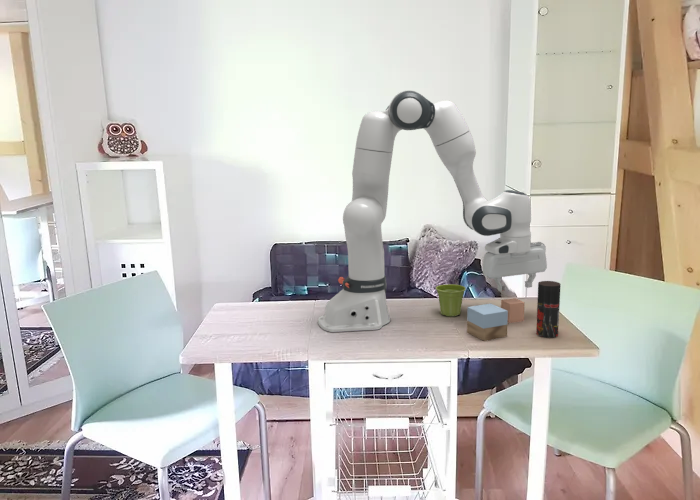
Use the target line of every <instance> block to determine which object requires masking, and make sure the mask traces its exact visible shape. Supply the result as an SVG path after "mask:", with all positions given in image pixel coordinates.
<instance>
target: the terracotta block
mask: <svg viewBox="0 0 700 500" xmlns="http://www.w3.org/2000/svg"><path fill="white" fill-rule="evenodd" d="M500 308H502V309H505V310H507V311H508V321H507V324H508V323H509V324H513V323H521V322H524V321H525V301H522V300H520V299H518V298H515V297H512V298H507V299H501V301H500Z"/></svg>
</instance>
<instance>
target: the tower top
mask: <svg viewBox="0 0 700 500" xmlns="http://www.w3.org/2000/svg"><path fill="white" fill-rule="evenodd" d="M466 311H467V312H466V313H467V314H466V315H467V317H466V318H467V319H466V321H467V320H468V321H470V322H472V323H473V324H475V325H477V326H479V327H481V328H483V329H484V328H490V327H496V326H502V325H507V326H508V322H507V321H508V311H507V310H505V309H502V308H501V306H497V305H495V304H492V303H484V304H479V305H472V306H467V310H466Z"/></svg>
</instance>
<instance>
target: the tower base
mask: <svg viewBox="0 0 700 500" xmlns="http://www.w3.org/2000/svg"><path fill="white" fill-rule="evenodd" d="M466 333H467V334H468V335H471V336H473V337H475V338H477V339H480V340H481V341H483V342H488V341H491V339H493V340H496V339H501V338H505V337H508V324H507V325H502V326H496V327H490V328H484V329H483V328H481V327H479V326H477V325H475V324H473V323H472V322H470V321H468V320H467V319H466ZM487 340H488V341H487Z"/></svg>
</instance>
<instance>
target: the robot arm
mask: <svg viewBox="0 0 700 500" xmlns="http://www.w3.org/2000/svg"><path fill="white" fill-rule="evenodd" d="M421 129H423V130H425V131H426V133H427V134H428V135H429V137H430V140H431V142H432V145H433V147H434V149H435V151H436V154H437V155H438V157H439V159H440V161H441V162H442V165H444V166H445V168H446V169H447V171H448V172H449V174H450V175H451V176H452V177H451V178H452V179H453V181H454V183H455V186H456V188H457V190H458V193H459V196H460V198H461V201H462V217H463V222H464V223H465V226H467V228H469V229H470V230H473V231H474V232H476V233H477V234H479V235H481V236H484V237H489V236H494V235H498V234H500V237H499V238H496V239H495V240H492V241H491V242H487V243H486V244H485V245H484V250H485V251H486V252H485V254H484V256H483V260H482V274H483V275H484V277H486V278H488V279H493V281H494V282H495V284H496V285H497V291H498V292H505V289H506V285H505V284H503V283H502V282H501V281H502V280H503V279H502V278H505V277H512V276H513V277H514V276H522V275H528V277H527V280H525V281H524V287H525V288H528V289H529V288H532V287H533V282H534V280H535V279H536V277H537V275H536V274H537V273H543V272H546V270H547V268H548V262H547V256H546V255H547V254H546V252H547V250H546V249H547V248H546V245H545V243H543V242H542V241H537V242H532V237H531V236H532V232H531V228H530V226H531V222H532V207H531V206H532V205H531V200H530V197H529V195H528V194H527V193H525V192H522V191H519V190H511V189H505V190H503V191H502V193H500V194H499V195H497V196H496V197H494V198H491V199H489V200H488V199H487V198H486V197H485V196H484V195H483V193H482V190H481V188H480V185H479V182H478V180H477V178H476V175H475V172H474V167H473V166H474V162H475V157H476V154H477V151H476V145H475V142H474V138H473V135H472V133H471V130H470V128H469V126H468V123H467V121H466V119H465V118H464V116H463V113H462V112H461V111H460V110H459V108H458V107H457V105H456V104H455V102H453V101H451V100H446V99H445V100H438V101H437V102H434V103H433V102H431V101H430V100H429V99H427V97H425V96H423V95H422V94H421V93H419V92H417V91H415V90H403V91H400V92H398V93H397V94H396V95H395V96H394V97H393V98H392V100H391V101H390V103H389V105H388V106H387V108H386V109H385V110H371V111H368V112H367V113H365V114H364V116H363V117H362V119H361V122H360V124H359V128H358V132H357V136H356V143H355V150H354V156H353V165H352V172H351V174H352V197H351V201H350V202H349V203H347V205H346V207H345V208H344V210H343V214H342V223H343V226H344V227H343V228H344V236H345V237H344V238H345V241H346V249H347V259H348V260H347V261H348V265H347V266H348V276H347V277H346V278H345V277H343V276H339V278H338V279H337V281H338V283H339V284H340V285H342V289H341V290H340V291H339V292H338V293H336V294H335V295H334V296H333V297H331V298H330V299H329V300H328V301H327V302H326V304H325V310H324V315H321V316H319V317H318V318H317V319H318V320H317V324H318V326H319V327H320V328H321V329H322V330H323V331H327V332H330V333H338V332H339V333H341V332H342V333H343V332H356V331H372V330H373V331H375V330H380V329H382V327H383V326H386V325H387V324H389V323H390V322H391V318H390V314H389V310H388V303H387V297H386V294H387V277H386V275H385V250H384V244H383V236H382V235H383V233H382V224H383V223H384V221H385V219H386V217H387V209H388V199H389V196H388V195H389V183H390V175H391V167H392V159H393V153H394V152H393V151H394V145H395V141H396V137H397V136H398V135H397V134H398V133H399V132H400V131H402V130H404V131H416V130H421Z"/></svg>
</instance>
